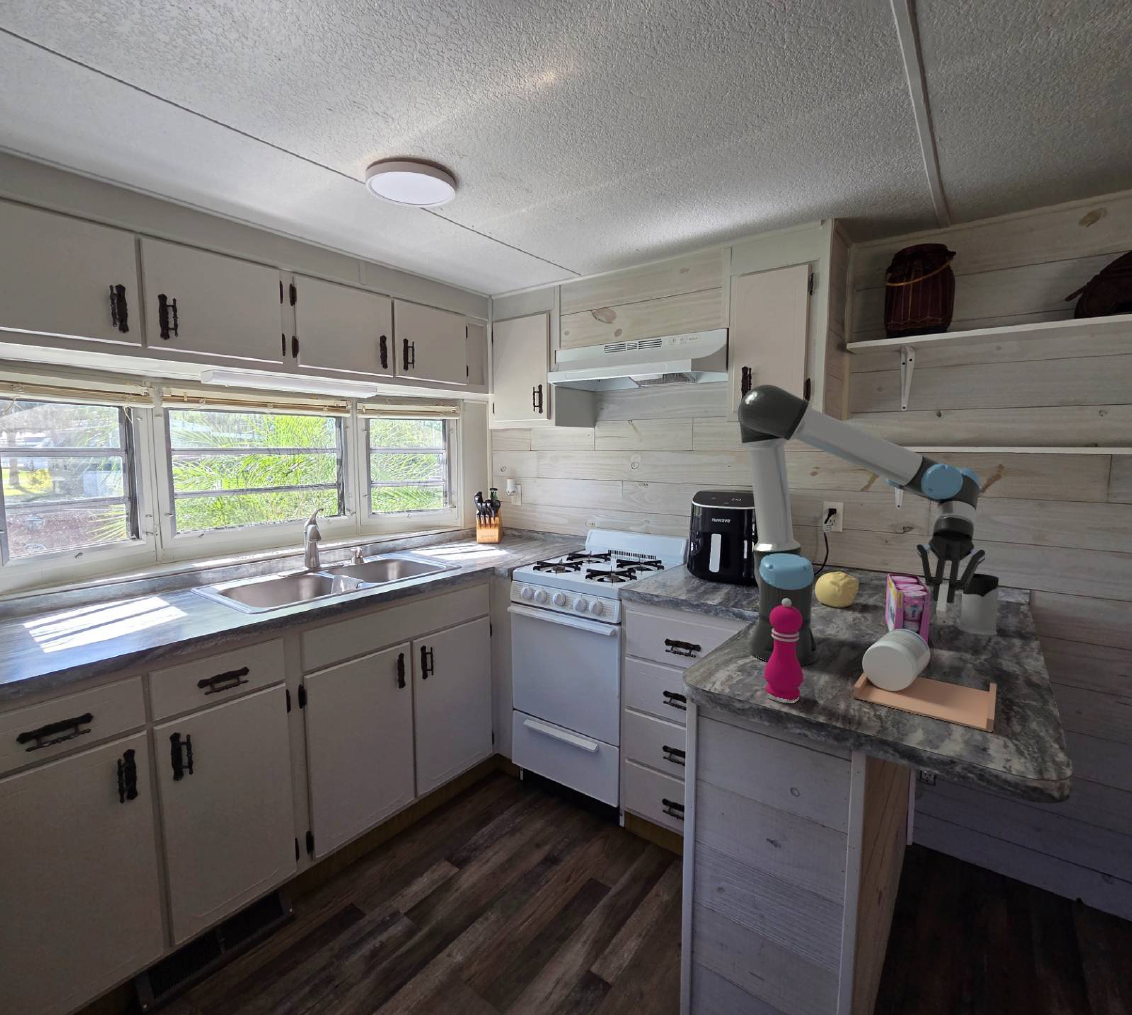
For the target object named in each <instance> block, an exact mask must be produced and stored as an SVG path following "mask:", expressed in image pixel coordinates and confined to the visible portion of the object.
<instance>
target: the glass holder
mask: <svg viewBox="0 0 1132 1015" xmlns="http://www.w3.org/2000/svg"><path fill="white" fill-rule="evenodd" d="M947 577H950V574H949V575H948V574H947V575H943V579H944V578H947ZM999 579H1000V577H999V576H995V575H991V574H985V573H976V572H975V573H974V575H973V577H972V579H971V580H970V582H969V584H968V586H967V588H966V590H964V591H963V590H962V591H961V590H957V591H956V592H957V593H959V594H961V607H960V612H959V611H958V610H957V609H956V608H955V607H954V606H953V605H952V603H947V606H948V607H950V609H951V610H953V611H954V613H956V614H957V615H958V617H959V624H958V626H957V629H958V630H960V631H962V632H965V633H969V634H972V635H973V634H974V635H978V636H996V635H998V632H997V628H996V627H997V615H998V602H999V590H1000V588H999V581H1000V580H999ZM957 582H958V580H957Z"/></svg>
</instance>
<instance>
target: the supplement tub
mask: <svg viewBox="0 0 1132 1015" xmlns="http://www.w3.org/2000/svg"><path fill="white" fill-rule="evenodd" d="M930 660H931V650H930V648H929V645H928V644H927V643H926V642H925V640H924V639H923V638H922V637H921V636H920V635H918V634H917V633H915V632H913V631H910V630H906V629H896V630H892V631H890V632H889V631H888V632H887V633H885V634H884V635H883V636H882V637H881V638H879V639H878V640H876V642H874V643H873V644H872V645H871V646H870V647H869V648H868V649H867V650H866V651H865V653H864V654H863V658H862V669H863V672H865V674H866V676H867V677H868V679H869V680H870V681H871V682H872V683H873V684H875V685H876V686H878V687H879V688H882V689H884V690H888V691H898V690H902V689H904V688H906V687H908V686H909V685H910V684H911V683H912V682H913V681H914V680H915V679H916V677H919V675H920V674H921V673H922V672H923V670H924V669H925V668H926V667H927V666H928V664H929V662H930Z"/></svg>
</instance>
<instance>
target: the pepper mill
mask: <svg viewBox="0 0 1132 1015" xmlns="http://www.w3.org/2000/svg"><path fill="white" fill-rule="evenodd" d="M802 622H803V621H802V615H801V613H800V612H799V611H798V610H797V609H796V608H794V607H791V600H790V599H788V598H785V599H783V600H782V606H778V607H776V608H774V609H773V610H772V611H771V614H770V623H771V625H772V626H773V627H774V628H773V629H772V637H773V638H774V650H773V653H772V655H771V657H770V659H769V661H768V662H767V661H766V665H765V668H764V671H763V672H764V673H763V675H764V679H765V681H766V682H767V683H768V684H766V686H765V687H766V688H765V692H766V691H767V692H768V693H770V694H771V695H773V696H775V697H779V698H783V699H787V700H788V699H789V700H793V699H794V700H795V699H797V698H798V697H800V696H801V692H800V691H801V690H800V689H799V687H801V685H802V684H803V683H804V673H803V669H802V667H801V666H802V665H800V664H799V661H798V659H797V656H796V641H797V640H798V639H799V637H798V635H799V632H798V631H797V630H798V629H799V628H800V627H801V625H802ZM800 698H801V697H800Z"/></svg>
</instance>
